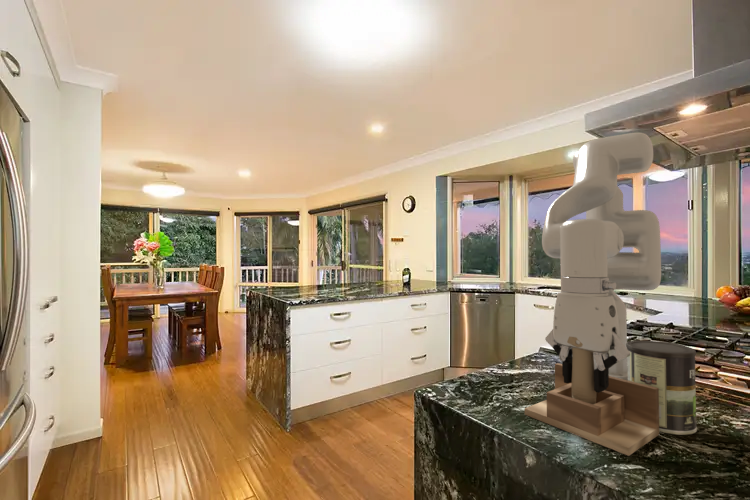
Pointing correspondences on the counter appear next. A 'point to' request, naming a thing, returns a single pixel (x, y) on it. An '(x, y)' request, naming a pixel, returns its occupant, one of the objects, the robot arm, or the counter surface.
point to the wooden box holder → (603, 413)
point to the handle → (582, 373)
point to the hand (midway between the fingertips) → (584, 385)
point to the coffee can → (667, 381)
